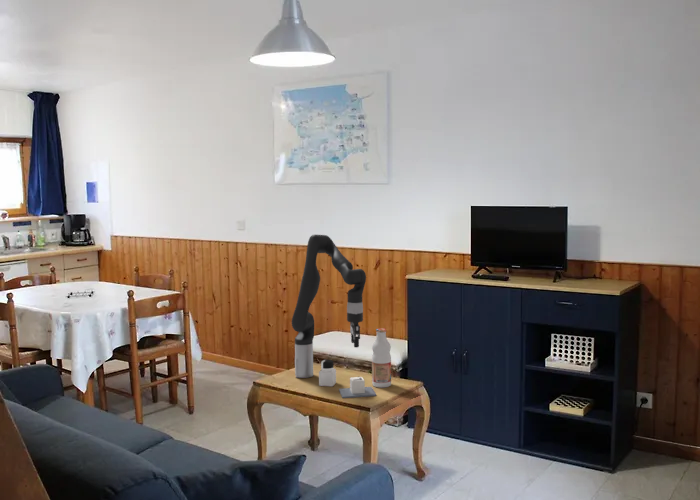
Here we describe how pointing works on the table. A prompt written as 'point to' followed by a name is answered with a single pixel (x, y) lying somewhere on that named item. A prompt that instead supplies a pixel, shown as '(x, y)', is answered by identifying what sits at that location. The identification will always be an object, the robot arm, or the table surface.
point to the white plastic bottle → (381, 360)
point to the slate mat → (348, 394)
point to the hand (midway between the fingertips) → (355, 345)
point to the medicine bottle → (327, 373)
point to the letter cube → (357, 385)
